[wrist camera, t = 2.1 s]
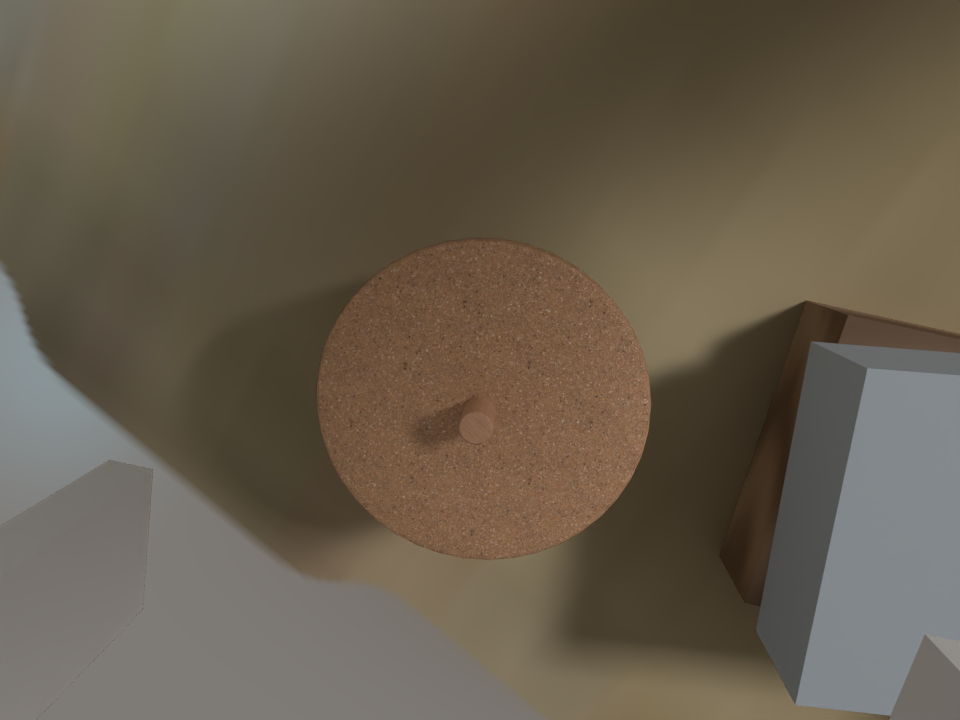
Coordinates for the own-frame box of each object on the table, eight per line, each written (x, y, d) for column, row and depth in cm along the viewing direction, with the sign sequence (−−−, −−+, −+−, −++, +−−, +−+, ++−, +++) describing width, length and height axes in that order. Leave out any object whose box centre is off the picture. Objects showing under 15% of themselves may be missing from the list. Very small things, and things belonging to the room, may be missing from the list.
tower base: (802, 299, 26) (848, 315, 23) (1089, 361, 26) (1186, 388, 22) (716, 550, 29) (744, 602, 26) (973, 608, 29) (1041, 670, 25)
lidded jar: (485, 174, 26) (461, 156, 17) (672, 349, 27) (743, 422, 18) (323, 360, 28) (225, 433, 19) (501, 514, 29) (487, 653, 20)
